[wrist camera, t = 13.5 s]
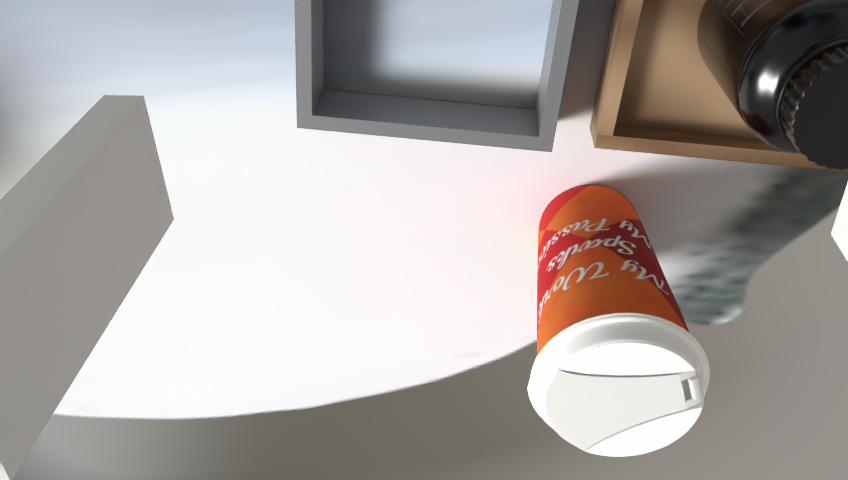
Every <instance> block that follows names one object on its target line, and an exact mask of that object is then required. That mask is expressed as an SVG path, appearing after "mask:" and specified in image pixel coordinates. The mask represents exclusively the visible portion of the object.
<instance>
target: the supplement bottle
mask: <svg viewBox="0 0 848 480" xmlns="http://www.w3.org/2000/svg"><path fill="white" fill-rule="evenodd" d="M697 41H698V47H699V50H700V54H701V56H702V58H703V61H704V62H705V64H706V66H707V67H708V69H709V71H710V72H711V74H712V75H713V77H714V78H715V80H716V81H717V83H718V84H719V86H720V87H721V89H722V90H723V91H724V93H725V94H726V96H727V97H728V99H729V100H730V102H731V103H732V105H733V106H734V108H735V109H736V111H737V112H738V114H739V115H740V116H741V118H742V119H743V121H744V122H745V124H746V125H747V126H748V127H749V129H750V130H751V131H752V132H753V133H754V134H755V135H756V136H757V137H758V138H760V139H761V140H762V141H764V142H765V143H767V144H769V145H771V146H773V147H775V148H777V149H780V150H783V151H787V152H792V153H800V154H803V155H804V157H805V158H806V159H807V160H809V161H812V162H814V163H815V164H816V165H818V166H825V167H826V168H828V169H838V170H845V169H848V0H706V1H705V3H704V5H703V7H702V10H701V13H700V16H699V21H698V27H697Z"/></svg>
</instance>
